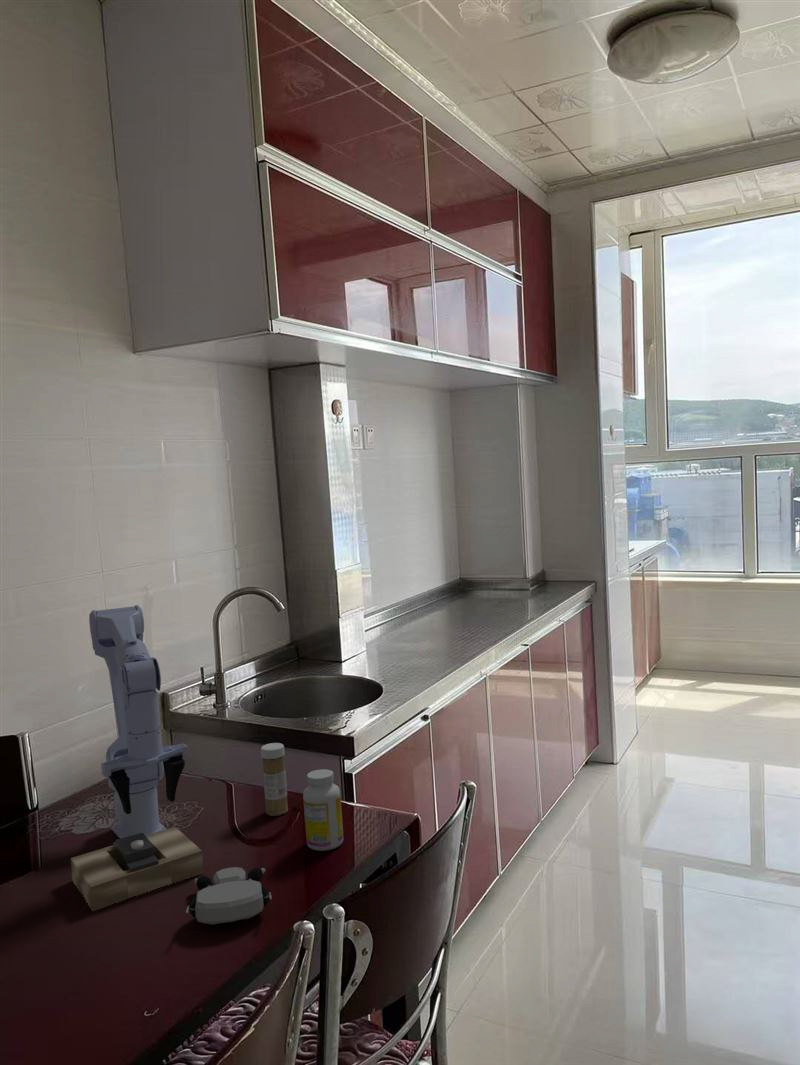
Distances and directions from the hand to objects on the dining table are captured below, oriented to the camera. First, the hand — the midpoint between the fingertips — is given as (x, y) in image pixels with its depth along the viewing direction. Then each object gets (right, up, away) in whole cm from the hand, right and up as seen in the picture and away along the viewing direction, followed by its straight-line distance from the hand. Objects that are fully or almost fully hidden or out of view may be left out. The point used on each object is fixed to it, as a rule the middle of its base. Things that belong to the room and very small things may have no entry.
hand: (149, 806), depth 138 cm
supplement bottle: (+30, -8, +3) cm, 32 cm away
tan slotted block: (0, -10, -5) cm, 11 cm away
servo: (0, -10, -5) cm, 12 cm away
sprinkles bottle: (+19, -8, +19) cm, 28 cm away
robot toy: (+18, -10, -17) cm, 26 cm away
